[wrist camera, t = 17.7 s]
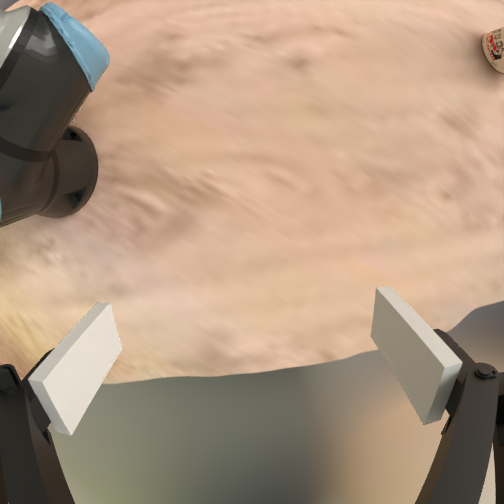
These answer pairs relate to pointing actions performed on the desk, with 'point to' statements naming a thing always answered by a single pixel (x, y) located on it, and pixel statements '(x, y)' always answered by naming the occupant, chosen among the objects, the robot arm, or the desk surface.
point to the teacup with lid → (494, 48)
